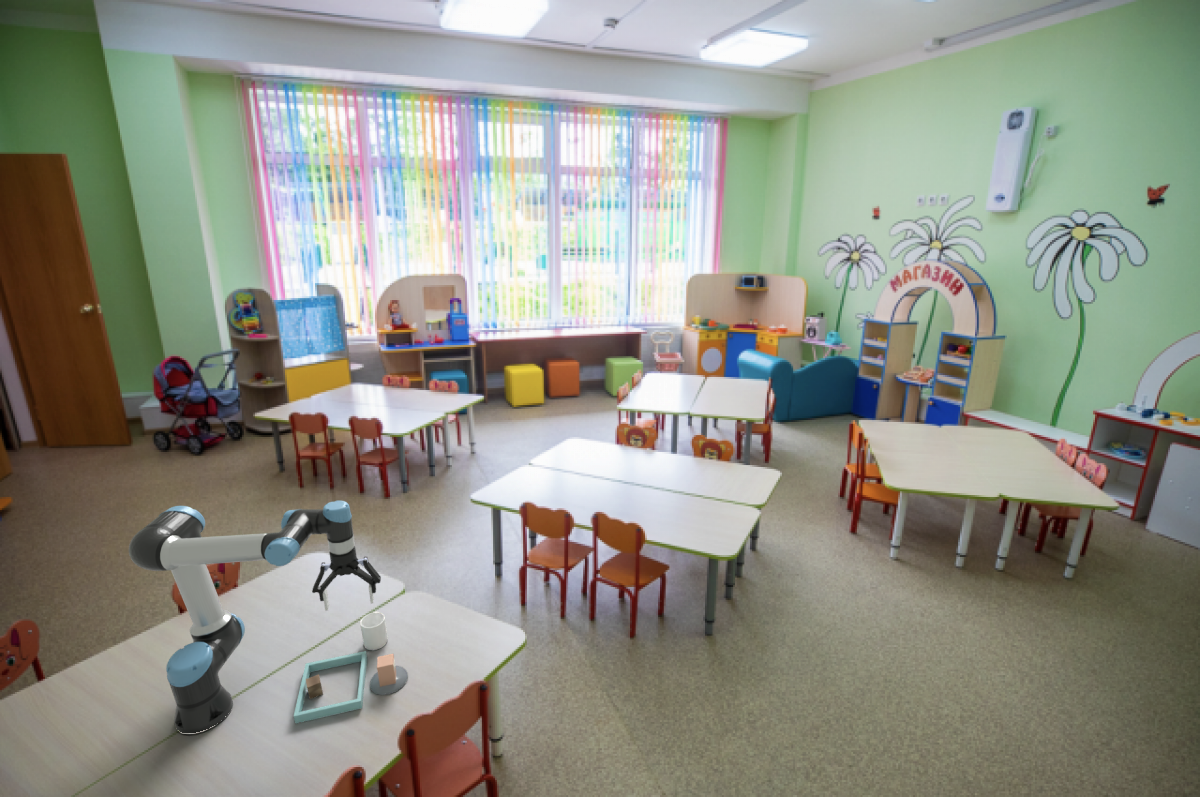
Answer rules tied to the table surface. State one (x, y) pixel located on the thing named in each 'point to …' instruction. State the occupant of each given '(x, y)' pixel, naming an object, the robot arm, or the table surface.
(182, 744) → the table surface
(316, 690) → the walnut block
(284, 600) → the table surface
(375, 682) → the grey dome puck
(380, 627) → the cup
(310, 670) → the corral
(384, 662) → the painted box
